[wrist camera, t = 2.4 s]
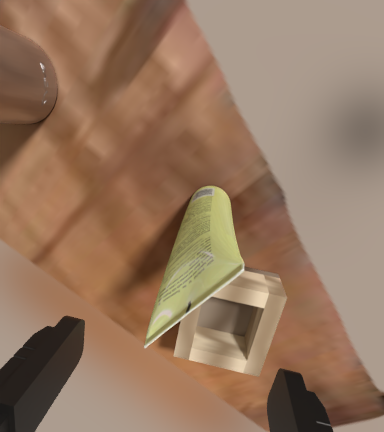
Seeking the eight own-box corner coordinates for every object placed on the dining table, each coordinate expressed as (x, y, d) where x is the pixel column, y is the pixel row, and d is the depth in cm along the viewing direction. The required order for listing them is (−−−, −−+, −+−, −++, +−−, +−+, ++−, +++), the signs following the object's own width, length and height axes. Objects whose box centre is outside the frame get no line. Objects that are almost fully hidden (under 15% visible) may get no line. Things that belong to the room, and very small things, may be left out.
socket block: (179, 328, 38) (173, 356, 33) (194, 255, 34) (189, 276, 29) (254, 345, 37) (258, 376, 33) (278, 274, 33) (287, 297, 29)
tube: (228, 230, 32) (233, 362, 14) (188, 227, 33) (141, 350, 14) (232, 186, 31) (245, 269, 12) (190, 183, 31) (140, 258, 13)
